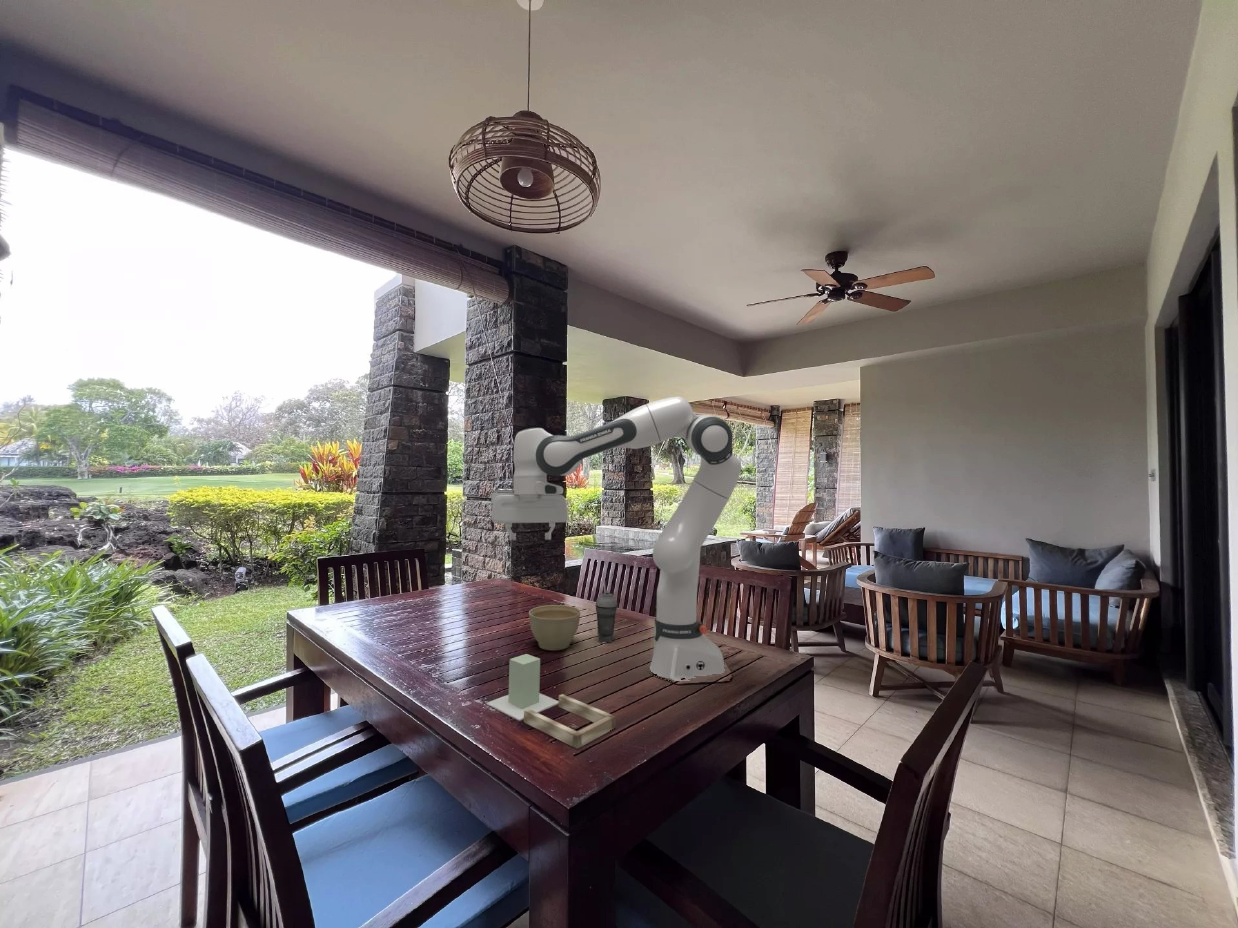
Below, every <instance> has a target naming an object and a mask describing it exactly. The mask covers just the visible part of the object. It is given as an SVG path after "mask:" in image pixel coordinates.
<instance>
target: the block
mask: <svg viewBox="0 0 1238 928" xmlns="http://www.w3.org/2000/svg"><path fill="white" fill-rule="evenodd" d="M508 665H509V670H508V671H509V672H508V695H509V697H508V703H510V704H512V705H514V706H516V707H519V708H521V709H524V708H526V707H529V706H531V705H533V704H536V703H538V702H539V693H540V686H541V685H540V684H541V683H540V681H541V680H540V679H541V678H540V677H541V674H540V673H541V658H539V657H536V656H533V655H530V654H528V653H525V654H522V655H519V656H515V657H513V658H512V657H511V658H509V664H508Z"/></svg>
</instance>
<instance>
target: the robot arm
mask: <svg viewBox="0 0 1238 928" xmlns="http://www.w3.org/2000/svg"><path fill="white" fill-rule="evenodd" d="M733 437H734V436H733V431H732V429H731V427H730V425H729V423H727V422H726V421H725V420H724V419H722V418H720V417H718V416H715V415H711V414H700V413H695V412H694V411H693V407H692V406H691V404H690V402H689V401H688V400H687V399H685V398H684V397H683V396H671V397H666V398H662V399H658V400H654V401H651V402H648V403H646V404H643V405H641V406H638V407H635V408H633V409H632V410H629V411H628V412H625V413H624V414H622V415H621V416H619V417H618V418H615V419H614V420H612V421H610V422H608V423H606V424H603V425H600V426H597V427H595V428H592V429H589V430H586V431H584V432H583V431H582V432H579V433H577V434H574V435H560V434H557V435H556V434H555V435H554V434H551V433H549V432H548V431H546V430H545V429H544V428H543V427H529V428H524V429H522V430H520V431H518V432H517V433H516V435H515V438H514V442H513V457H512V458H513V460H512V461H513V465H514V474H513V478H512V479H513V488H497V489H495V490H494V491H493V492H492V493H491V496H490V497H491V498H490V499H491V500H490V501H491V504H492V509H491V521H492V523H494V524H504V528H505V530H506V532H507V533H508V534H509V539H508V540H509V541H516V540H517V537H516V536H517V532H515V533H514V532H513V530H512V527H513V524H534V523H536V524H537V523H538V524H539V523H542V524H543V523H544V524H545V523H548V527H550V529H549V531H548V532H545V533H544V540H545V541H550V540H552V533H553V531H554V529H555V527H556V523H566V522H567V521H568V519H569V511H568V503H567V500H566V497H565V496H564V495H563V493H564V488H563V487H562V486H561V485H557V484H554V483H553V482H548V479H547V476H548V475H549V476H554V477H557V476H563V477H564V476H569V475H571V474H573V473H575V472H576V471H577V470H578V469H579V467H580V466H581V463H582V460H584V459H586V458H589V457H593V456H594V455H597V454H600V453H603V452H606V451H610V450H612V449H618V448H619V449H620V448H625V449H633V450H637V449H642V448H643V449H644V448H648V447H652V446H655V445H657V444H660V443H663V442H666V441H668V440H670V439H675V438H680V439H681V440H682V442H683V443H684V444H685V446H686V447H687V448H688V449H690V450H691V451H692V452H693V453H694V454H696V455H698V456H699V457H700V465H699V468H698V471H697V473H696V474H695V476H694V477H693V479H692V481H691V483H690V484H689V486H688V488H687V490H686V491H685V493H684V495H683V497H682V499H681V501H680V503H679V504H678V506H677V508H675V510H674V513H673V514H672V515H671V517H670V519H668V522H667V523H666V524H665V527H664V528H663V530H662V532H661V533H660V535H659V536H658V537H657V540H656V541H655V543H654V544H653V545H654V546H653V549H652V559H653V562H654V564H655V566H656V567H658V569H659V570H660V571H659V579H658V585H657V588H656V617H655V618H654V626H653V630H654V631H653V637H654V646H653V653H652V658H651V662H650V665H649V668H650V670H651V672H653V673H654V674H657V675H658V676H662V677H665V678H670V679H672V680H674V681H690V680H688V679H691V678H696V677H694V676H707V675H712V674H722V673H724V671H725V669H724V663H725V662H724V655H723V653H722V651H721V649H720V648H719V647H718V646H717V644H715V643H714V642H713V641H712V640H710V639H709V637H707V636H706V635H705V634H707V633H708V628H707V626H706V625H704V623H703V622H701V620H699V619H697V607H698V606H697V601H698V596H697V595H698V586H699V585H698V583H699V575H700V562H701V548H702V546H703V544H704V543H705V541H706V540H707V538H708V536H709V534H710V533H711V532H712V530H713V528H714V526H715V525H716V524H717V521H718V519H719V518H720V517H721V514H722V512H723V510H724V508H725V507H726V505H727V503H728V502H729V500H730V499H731V496H732V494H733V492H734V490H735V488H736V485H737V483H738V481H739V477H740V475H741V471H742V464H741V462H740V460H739V459H738V457H736V456H735V455H734V454H733V440H734V439H733ZM650 670H649V671H650ZM651 672H650V673H651ZM681 678H685V679H686V680H681Z"/></svg>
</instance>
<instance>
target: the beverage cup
mask: <svg viewBox="0 0 1238 928" xmlns="http://www.w3.org/2000/svg"><path fill="white" fill-rule="evenodd" d="M602 581H603V593H601V594H600V595H599V596H598V597H597V599H596V600H595V601H596V602H595V605H594V606H595V612H596V620H597V621H596V623H597V624H596V625H597V636H598V637H597V638H598V642H599V641H601V642H610V641H612V642H613V640H614V639H613V638H614V632H615V631H614V630H615V622H616V614H617V609H618V601H617V599H616V597H615V596H614V594H613V593H610V592H606V590H607V589H606V579H605V578H603V580H602Z"/></svg>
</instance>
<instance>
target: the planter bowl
mask: <svg viewBox="0 0 1238 928" xmlns="http://www.w3.org/2000/svg"><path fill="white" fill-rule="evenodd" d="M581 613H582V612H581V610H580V609H579V608H578V607H575V606H571V605H563V604H550V605H541V606H537V607H534V608H531V609H530V610H529V612H528V616H529V626H530V629H531V632H532V634H533V636H534V639H535V640H536V641H537V643H538V646H539V648H541V649H542V650H546V651H557V652H558V651H561V650H565V649H567V648H569V647H570V644H571V642H572V640H573V639H574V637H575V636H576V634H577V632H578V628H579V625H580V618H581Z"/></svg>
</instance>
